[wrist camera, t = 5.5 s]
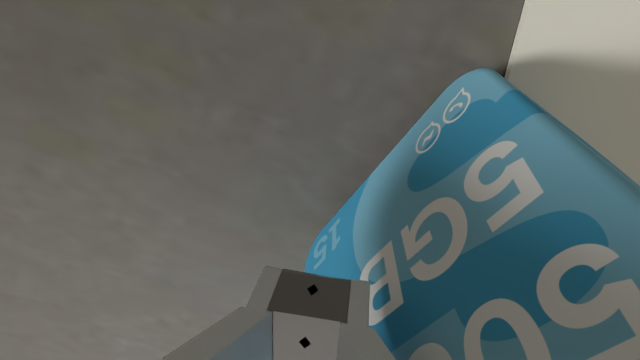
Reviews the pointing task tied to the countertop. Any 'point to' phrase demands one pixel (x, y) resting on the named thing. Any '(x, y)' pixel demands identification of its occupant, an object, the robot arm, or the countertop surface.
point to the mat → (584, 71)
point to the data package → (493, 236)
